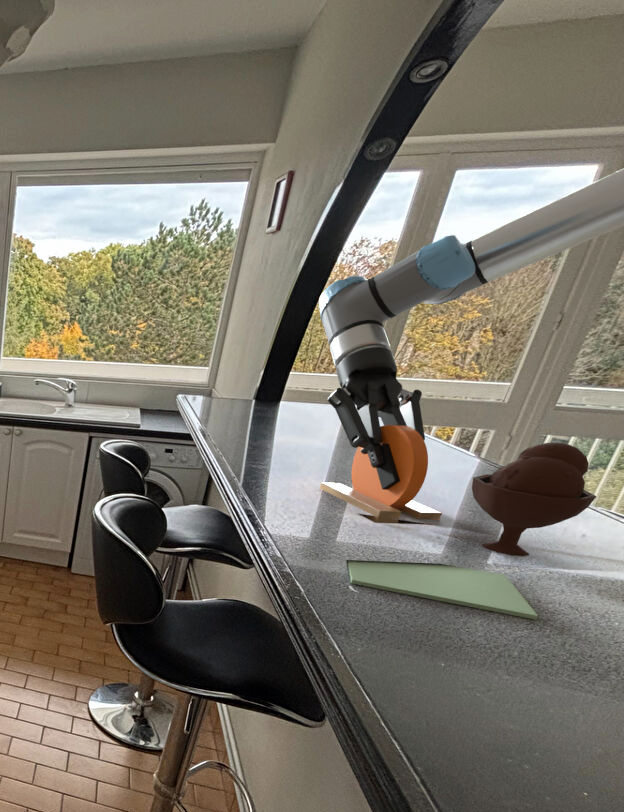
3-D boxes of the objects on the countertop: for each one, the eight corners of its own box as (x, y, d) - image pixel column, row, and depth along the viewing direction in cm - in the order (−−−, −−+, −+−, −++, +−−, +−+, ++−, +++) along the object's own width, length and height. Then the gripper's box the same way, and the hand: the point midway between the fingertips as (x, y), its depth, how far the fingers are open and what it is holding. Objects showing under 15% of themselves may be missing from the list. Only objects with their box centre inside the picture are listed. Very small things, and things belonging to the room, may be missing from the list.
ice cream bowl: (451, 533, 85) (491, 430, 80) (562, 555, 78) (614, 444, 72) (443, 553, 78) (486, 441, 73) (563, 579, 71) (622, 458, 65)
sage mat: (503, 578, 71) (505, 574, 71) (536, 620, 62) (538, 616, 61) (343, 550, 79) (344, 546, 79) (351, 583, 69) (352, 579, 69)
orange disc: (354, 494, 99) (379, 417, 94) (409, 522, 88) (441, 436, 82) (342, 494, 100) (366, 417, 94) (394, 521, 88) (426, 435, 83)
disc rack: (370, 498, 100) (375, 484, 99) (437, 529, 87) (443, 513, 86) (315, 496, 101) (320, 482, 100) (373, 527, 87) (378, 510, 86)
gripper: (394, 376, 100) (434, 498, 91) (302, 374, 101) (332, 495, 92) (428, 345, 93) (475, 474, 84) (329, 343, 94) (364, 471, 85)
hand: (400, 485), depth 88 cm, fingers closed on orange disc, 2 cm apart
